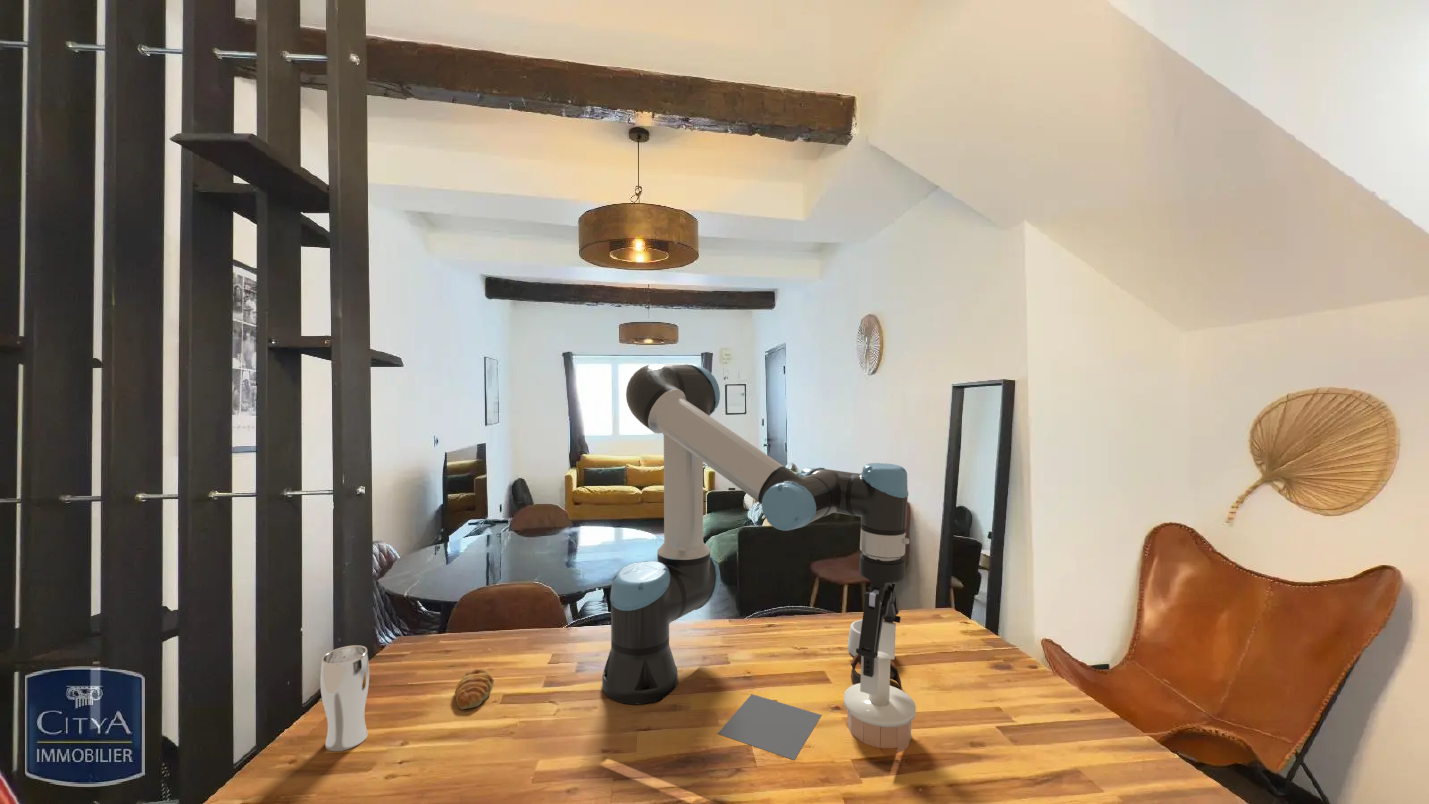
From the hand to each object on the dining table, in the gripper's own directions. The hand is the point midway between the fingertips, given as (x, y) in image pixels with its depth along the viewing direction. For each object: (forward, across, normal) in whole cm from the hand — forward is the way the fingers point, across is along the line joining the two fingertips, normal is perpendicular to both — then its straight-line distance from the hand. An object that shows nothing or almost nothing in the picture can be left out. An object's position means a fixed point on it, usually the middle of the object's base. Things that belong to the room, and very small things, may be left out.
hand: (878, 674), depth 100 cm
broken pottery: (+11, +16, +4) cm, 20 cm away
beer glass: (+12, -46, +79) cm, 92 cm away
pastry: (+12, -26, +71) cm, 77 cm away
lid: (+6, 0, 0) cm, 6 cm away
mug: (+11, +28, +8) cm, 31 cm away
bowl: (+11, 0, 0) cm, 11 cm away
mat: (+11, -8, +17) cm, 21 cm away
